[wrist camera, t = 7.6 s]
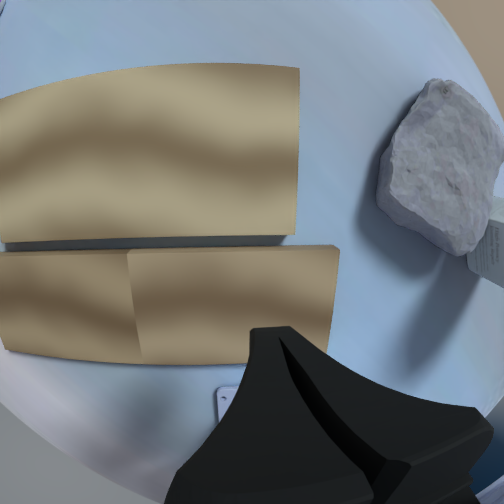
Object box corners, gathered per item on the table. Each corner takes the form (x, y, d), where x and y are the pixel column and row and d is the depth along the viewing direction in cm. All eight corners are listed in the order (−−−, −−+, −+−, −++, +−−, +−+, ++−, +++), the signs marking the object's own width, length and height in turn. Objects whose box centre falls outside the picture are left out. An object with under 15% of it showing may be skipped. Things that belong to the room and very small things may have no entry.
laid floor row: (320, 347, 22) (325, 355, 21) (11, 342, 19) (5, 349, 18) (332, 244, 20) (339, 249, 19) (-13, 252, 17) (-21, 256, 15)
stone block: (350, 202, 21) (447, 257, 21) (371, 203, 16) (481, 270, 17) (399, 74, 19) (487, 138, 19) (425, 51, 14) (520, 130, 15)
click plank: (290, 230, 19) (295, 234, 18) (10, 238, 17) (1, 242, 15) (294, 73, 16) (299, 67, 15) (6, 102, 14) (-4, 100, 12)
